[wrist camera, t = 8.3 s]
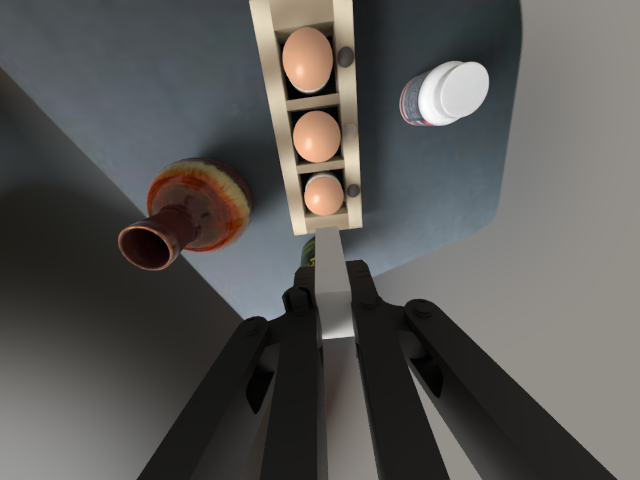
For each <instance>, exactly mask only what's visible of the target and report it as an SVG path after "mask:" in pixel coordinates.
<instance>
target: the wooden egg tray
mask: <svg viewBox="0 0 640 480" xmlns="http://www.w3.org/2000/svg"><path fill="white" fill-rule="evenodd" d="M249 3H250V8H251V13H252V18H253V23H254V28H255V34H256V39H257V44H258V49H259V54H260V60H261V65H262V70H263V75H264V80H265V86H266V91H267V96H268V101H269V106H270V111H271V117H272V122H273V127H274V132H275V137H276V143H277V148H278V153H279V158H280V163H281V168H282V174H283V179H284V184H285V189H286V194H287V200H288V205H289V210H290V215H291V220H292V225H293V231H294V235H302V234H311V233H315V229H316V228H324V227H333V226H338V230H344V229H353V228H361V227H362V209H361V186H360V163H359V141H358V118H357V95H356V72H355V50H354V27H353V4H352V0H251V1H249ZM304 27H310V28H314V29H316V30H318V31H320V32H321V33H322V34H323V35H324V36H325V37H328V36H332V45H333V58H334V71H335V84H336V94H330V95H323V96H316V97H309V98H302V99H295V100H289V99H288V92H287V86H286V80H285V73H284V67H283V61H282V54H281V48H280V44H283V43H286V41H287V39H288V38H289V36H290V35H291V34H292V33H293V32H295V31H296V30H298V29H300V28H304ZM334 106H337V110H338V123H339V129H340V135H341V139H340V148H341V156H334V157H331V158H330V159H328V160H326V161H324V162H319V163H315V162H310V161H308V160H304V161H298V155H297V150H296V148H295V145H294V140H293V133H294V130H293V124H292V118H291V113H292V112H299V111H306V110H313V109H320V108H327V107H334ZM340 168H342V174H343V187H344V200H345V204H342V205H341V207H340V208H339V209H338V210H337V211H336V212H335V213H333V214H331V215H327V216H321V215H317V214H315V213H313V212H312V211H310V210H309V208H306V206H305V200H304V193H303V187H302V181H301V174H302V173H309V172H317V171H325V170H333V169H340Z"/></svg>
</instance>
